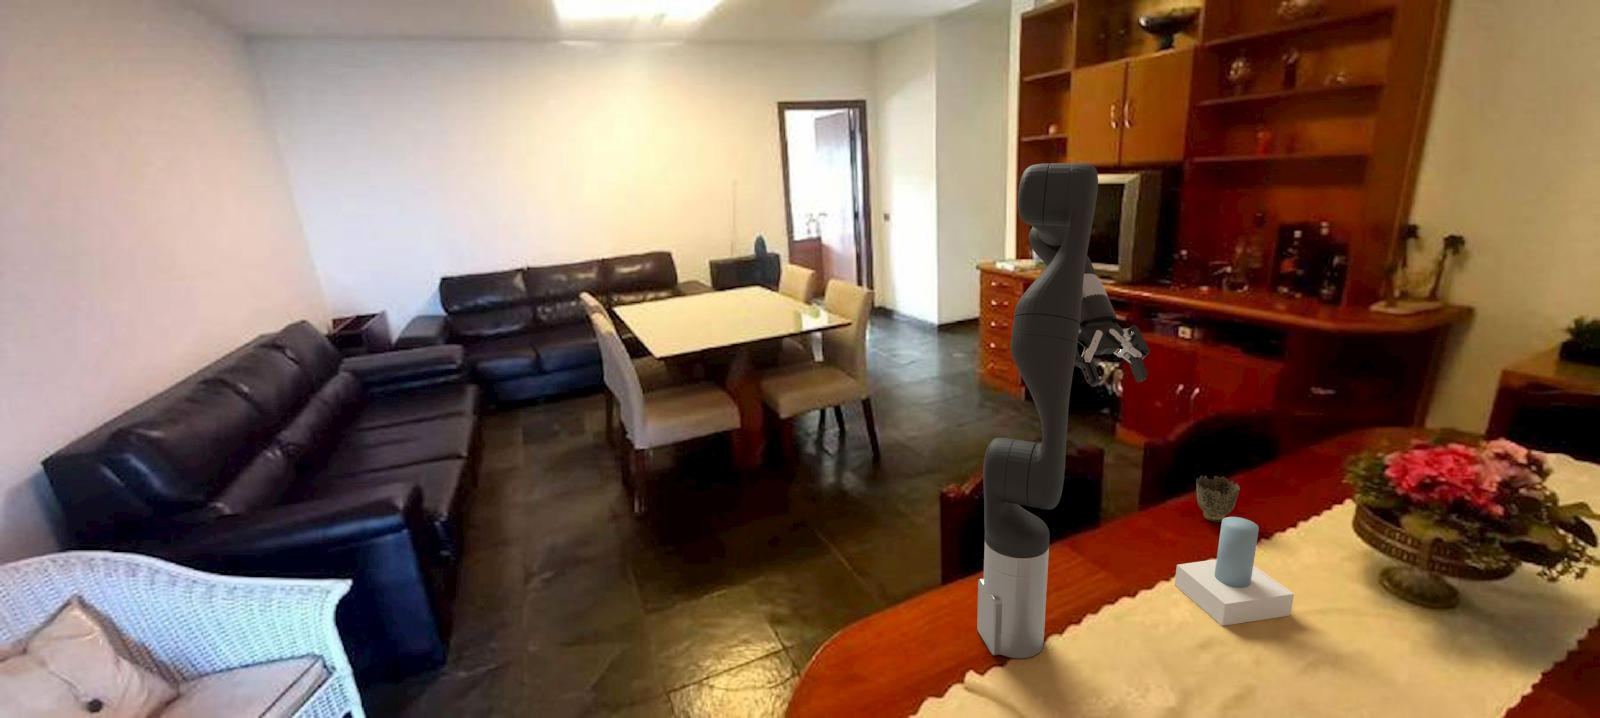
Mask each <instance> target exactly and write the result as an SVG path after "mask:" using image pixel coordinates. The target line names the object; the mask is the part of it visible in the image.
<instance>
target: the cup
mask: <svg viewBox="0 0 1600 718" xmlns="http://www.w3.org/2000/svg"><path fill="white" fill-rule="evenodd" d="M1195 481H1196V501H1197V505H1198V507H1199V508H1200V510H1202V511H1203V513H1202V514H1203V517H1204V518H1205V519H1206V520H1207V521H1210V522H1214V523H1220V522H1221V523H1222V519H1224V518H1226V517H1225V516H1226V515H1229V514H1230V513H1232V511H1233V510H1234V508H1235V506H1236V503H1237V499H1238V497H1239V493H1240V490H1241V487H1240V485H1239V483H1235V482H1234V480H1230V481H1229V479H1227V478H1226V477H1225V476H1222V477H1219V476H1217V475H1215V476H1214V477H1213V478H1208V476H1207V475H1200V476H1199V478H1198V477H1197V478H1196V480H1195ZM1234 483H1235V484H1234Z"/></svg>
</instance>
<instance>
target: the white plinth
mask: <svg viewBox="0 0 1600 718" xmlns="http://www.w3.org/2000/svg"><path fill="white" fill-rule="evenodd" d="M1216 561H1217V558H1216V559H1207V560H1202V561H1193V562H1186V563H1181V564H1176V570H1175V579H1174V586H1175V587H1176V588H1178V589H1179V590H1180V591H1181V592H1182V593H1183V594H1185V596H1187V597H1188V598H1189V599H1190V600H1192V602H1194V603H1195V604H1196V606H1197V605H1198V607H1199V608H1201V610H1203V611H1204V612H1206V614H1208V615H1209V616H1210V617H1211V618H1212V619H1213V620H1214V621H1216V622H1217V623H1218V624H1219V625H1221V626H1222V627H1224V626H1230V625H1236V624H1237V625H1238V624H1243V623H1250V622H1258V621H1263V620H1268V619H1276V618H1281V617H1283V618H1284V617H1289V616H1291V614H1292V609H1293V602H1294V596H1295V593H1294V592H1292V591H1291V590H1289V589H1288V588H1286V587H1285V586H1284V585H1282V584H1281V583H1279V582H1278V581H1276V580H1275V579H1274V578H1272V577H1271V576H1269V575H1268V574H1266V573H1265V572H1264V571H1262V570H1261V569H1260V568H1258V567H1257V566H1255V565H1254V564H1253V570H1252V577H1251V584H1250V585H1249V586H1248V587H1245V588H1236V587H1231V586H1228V585H1225V584H1223V583H1221V582H1220V581H1218V580H1217V579H1216V577H1215V568H1216Z"/></svg>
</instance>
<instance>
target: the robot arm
mask: <svg viewBox="0 0 1600 718" xmlns="http://www.w3.org/2000/svg"><path fill="white" fill-rule="evenodd" d="M1098 190H1099V174H1098V171H1097V169H1096V167H1095V166H1094V165H1092V164H1090V163H1080V162H1078V163H1077V162H1075V163H1074V162H1072V163H1071V162H1068V163H1067V162H1066V163H1065V162H1064V163H1063V162H1062V163H1061V162H1060V163H1059V162H1057V163H1056V162H1055V163H1053V162H1052V163H1036V164H1032V165H1030V166H1028V167H1027V168H1025V170H1024V171H1023V173H1022V175H1021V177H1020V181H1019V186H1018V193H1017V211H1018V215H1019V216H1020V219H1021V220H1022V221H1023V222H1024V223H1025V224H1027V225H1029V226H1031V227H1032V228H1031V229H1030V231H1029V233H1028V242H1029V243H1028V244H1029V245H1030V247H1031V249H1032V251H1033V252H1034V253H1035V254H1036V256H1037V257H1038V258H1039V259H1040V260H1041V261H1042V262H1043V263H1044V264H1045V265H1046V267H1045V269H1044V270H1043V271H1042V272H1041V273H1040V274H1039V276H1038V277H1036V278H1035V280H1034V281H1033V282H1032V283H1031V285H1029V287H1028V288H1027V289H1026V290H1025V292H1024V293H1023V294H1022V296H1021V297H1020V299H1019V300H1018V302H1017V304H1016V306H1015V310H1014V314H1013V315H1014V316H1013V322H1012V330H1011V337H1010V354H1011V356H1012V359H1013V362H1014V365H1015V366H1016V369H1017V370H1018V372H1019V374H1020V376H1021V378H1022V380H1023V382H1024V383H1025V386H1026V387H1027V389H1028V390H1029V391H1028V392H1029V393H1030V396H1031V397H1032V400H1033V402H1034V406H1035V408H1036V410H1037V413H1038V416H1039V421H1040V425H1041V431H1042V432H1041V434H1042V436H1041V437H1042V440H1041V442H1035V441H1027V440H1021V439H1016V438H1015V439H1013V438H1007V437H996V438H994V439H992V440H991V441H990V442H989V444H988V446H987V447H986V449H985V450H986V451H985V452H984V453H985V454H984V458H983V470H982V475H983V499H984V500H983V501H984V502H983V504H984V505H983V507H984V508H983V509H984V511H983V512H984V516H983V518H984V520H983V522H984V523H983V524H984V551H983V552H984V553H983V554H984V555H983V557H984V558H983V578H979V579H978V581H977V583H978V584H977V622H976V623H977V625H976V626H977V627H976V628H977V630H976V631H977V632H978V633H979V635H980V637H981V639H982V640H983V642H984V643H985V645H986V647H987V648H988V650H989V652H990V653H991V655H992V656H997V655H999V656H1000V655H1001V656H1003V657H1008V658H1012V659H1027V658H1031V657H1032V658H1033V657H1034V656H1036V655H1038V654H1039V653H1040V652H1041V651H1042V649H1043V647H1044V639H1045V623H1046V605H1047V604H1046V603H1047V590H1048V589H1047V588H1048V585H1047V584H1048V571H1049V570H1048V569H1049V553H1050V552H1049V551H1050V529H1049V527H1048V525H1047V524H1046V523H1045V522H1044V520H1042V519H1041V518H1040V517H1038V516H1037V515H1036V514H1034V513H1032V512H1031V511H1028V510H1026V509H1025V508H1024V507H1025V506H1026V507H1030V508H1035V509H1040V510H1053V509H1055V508H1056V507H1057V506H1058V504H1059V502H1060V501H1061V500H1060V499H1061V497H1062V495H1063V494H1062V492H1063V488H1064V482H1065V470H1066V457H1067V456H1066V453H1067V452H1066V451H1067V441H1068V440H1067V438H1068V422H1069V405H1070V397H1071V390H1072V389H1071V388H1072V382H1073V374H1074V370H1075V369H1074V368H1075V367H1078V368H1080V369H1081V371H1082V374H1083V377H1084V379H1085V381H1086V383H1087V384H1089V385H1090V387H1091V388H1093V387H1094V388H1095V387H1097V386H1098V385H1099V384H1101V379H1100V376H1099V373H1098V370H1097V368H1096V366H1095V364H1094V362H1092V359H1093V357H1094V355H1095V356H1101V355H1113V354H1114V355H1115V356H1117V358H1122V359H1123V360H1125V361H1126V362H1127V363H1129V368H1130V370H1131V372H1132V375H1133V377H1134V379H1135V381H1136V383H1143V382H1144V381H1145V380H1147V377H1148V370H1147V368H1146V366H1145V363H1144V361H1143V360H1144V359H1145V358H1146V357H1147V355H1149V354H1150V353H1151V349H1150V347H1149V346H1148V344H1147V342H1146V340H1145V338H1144V336H1143V334H1142V333H1141V330H1140V328H1139V327H1138V326H1137V325H1135V324H1131V326H1130V327H1129V328H1122V327H1121V326H1120V325H1119V323H1118V320H1117V319H1118V318H1117V314H1116V311H1115V310H1114V307H1113V305H1112V303H1111V300H1110V299H1109V298H1110V297H1109V296H1108V293H1107V291H1106V289H1105V287H1104V285H1103V284H1102V282H1101V280H1100V279H1099V277H1098V275H1097V273H1096V270H1095V268H1094V266H1093V263H1092V262H1091V258H1090V257H1089V256H1088V252H1089V251H1088V249H1089V245H1090V239H1091V233H1092V228H1093V223H1094V222H1093V221H1094V216H1095V211H1096V206H1097V205H1096V204H1097V198H1098V193H1099V192H1098ZM1078 343H1079V344H1080V345H1081V346H1082V347H1083V351H1082V354H1081V355H1080V352H1079V348H1078ZM1120 347H1122V349H1121V348H1120ZM1022 506H1024V507H1022Z"/></svg>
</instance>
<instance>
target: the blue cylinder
mask: <svg viewBox="0 0 1600 718" xmlns="http://www.w3.org/2000/svg"><path fill="white" fill-rule="evenodd" d="M1259 531H1260V527H1259V525H1258V524H1257V523H1255V522H1254V521H1252V520H1249V519H1246V518H1243V517H1240V516H1239V517H1238V516H1228V517H1225V518H1224V519H1222V521H1221V524H1220V533H1219V540H1218V546H1217V554H1216V559H1217V561H1216V568H1215V577H1216V579H1217V580H1218V581H1220V582H1221V583H1223V584H1225V585H1228V586H1231V587H1236V588H1245V587H1248V586H1249V585H1250V584H1251V577H1252V570H1253V565H1254V563H1255V562H1254V561H1255V557H1256V550H1257V543H1258V537H1259Z"/></svg>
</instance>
